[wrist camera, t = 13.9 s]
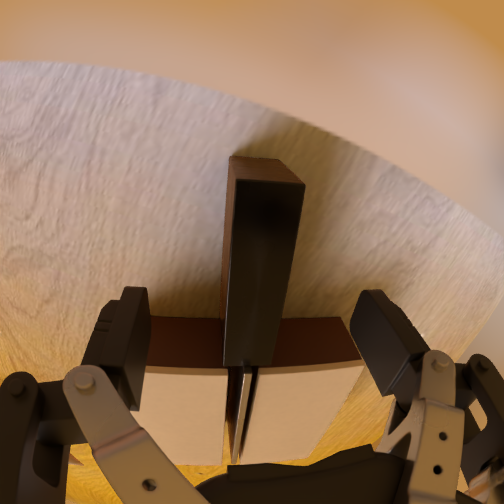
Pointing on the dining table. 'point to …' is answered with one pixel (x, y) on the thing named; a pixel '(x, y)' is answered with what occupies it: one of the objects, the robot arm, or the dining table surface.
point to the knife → (255, 271)
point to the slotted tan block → (260, 394)
